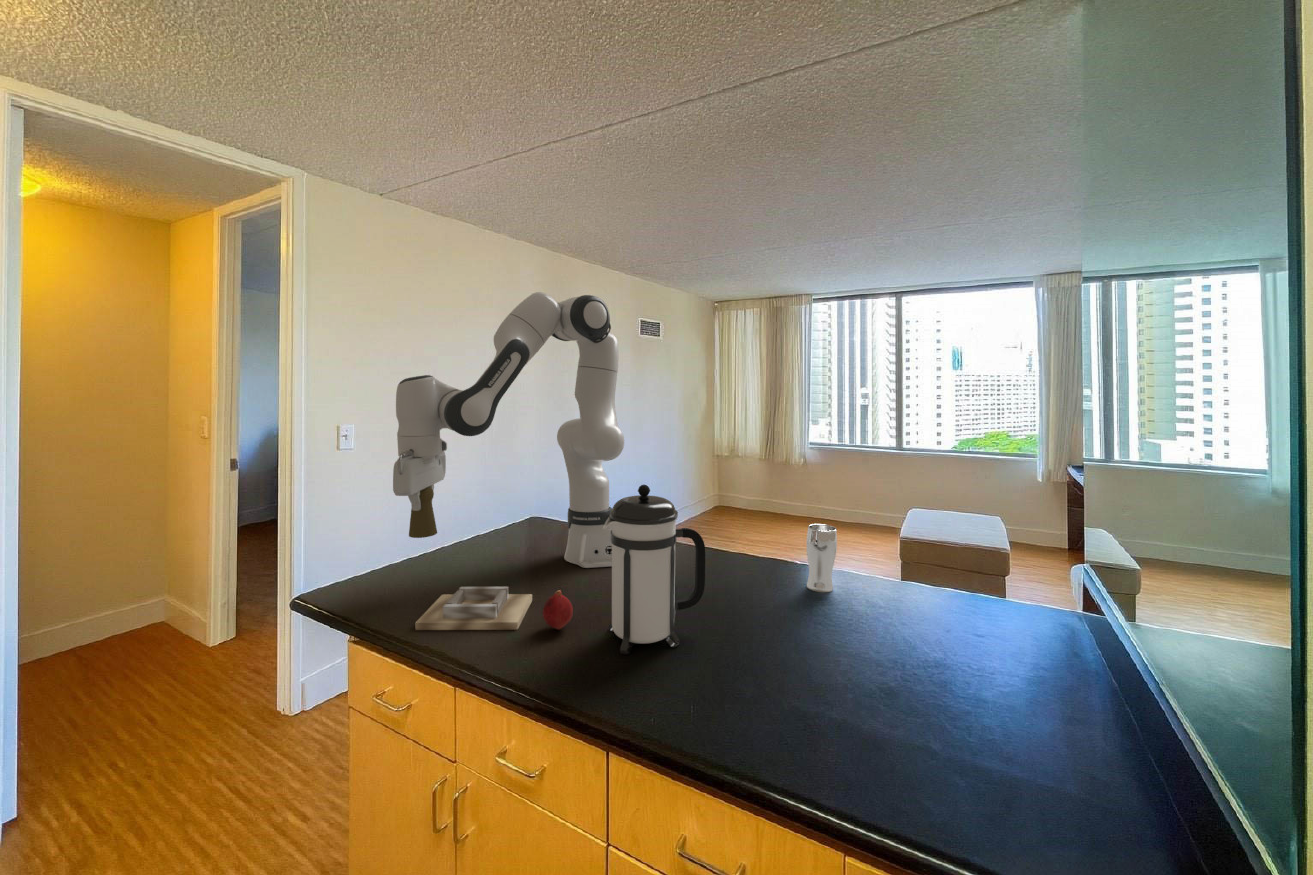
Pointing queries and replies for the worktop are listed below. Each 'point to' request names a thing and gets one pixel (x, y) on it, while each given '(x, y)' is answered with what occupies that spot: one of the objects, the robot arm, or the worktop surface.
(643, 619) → the coffee press
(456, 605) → the collar board
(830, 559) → the beer glass
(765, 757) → the worktop surface
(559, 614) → the red rounded piece
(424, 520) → the cork
